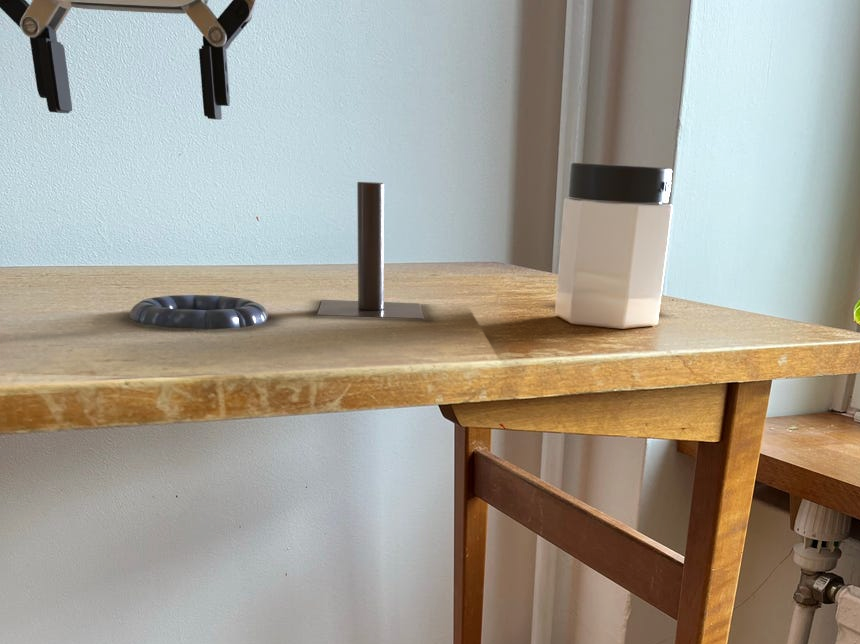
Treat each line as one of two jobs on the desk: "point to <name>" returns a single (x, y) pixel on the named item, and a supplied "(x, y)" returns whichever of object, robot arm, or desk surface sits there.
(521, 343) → the desk surface
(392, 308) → the post
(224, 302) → the ring
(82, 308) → the desk surface
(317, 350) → the desk surface
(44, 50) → the robot arm
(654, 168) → the jar
